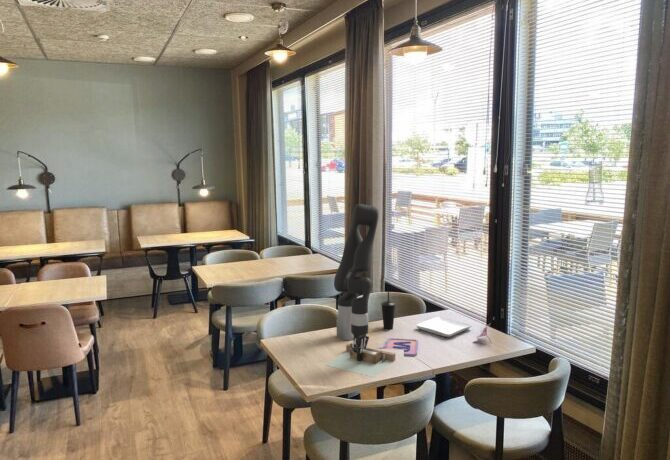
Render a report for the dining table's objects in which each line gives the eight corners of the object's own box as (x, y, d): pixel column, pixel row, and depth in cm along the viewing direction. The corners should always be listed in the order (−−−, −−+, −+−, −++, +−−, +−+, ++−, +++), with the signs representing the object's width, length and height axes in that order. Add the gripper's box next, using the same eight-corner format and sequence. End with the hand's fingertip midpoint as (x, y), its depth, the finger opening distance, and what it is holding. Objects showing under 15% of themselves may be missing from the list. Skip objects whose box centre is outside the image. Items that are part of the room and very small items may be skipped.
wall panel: (325, 367, 222) (324, 358, 221) (348, 351, 238) (348, 343, 238) (374, 379, 209) (374, 370, 208) (395, 362, 226) (395, 353, 225)
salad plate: (439, 321, 280) (439, 315, 280) (472, 330, 265) (473, 324, 264) (414, 330, 266) (414, 324, 266) (448, 341, 251) (449, 334, 250)
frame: (350, 358, 228) (350, 349, 228) (356, 354, 233) (356, 345, 232) (375, 364, 222) (375, 355, 221) (381, 359, 226) (381, 351, 226)
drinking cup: (391, 331, 264) (391, 294, 261) (378, 329, 268) (378, 292, 265) (398, 327, 270) (398, 290, 267) (385, 325, 274) (385, 288, 271)
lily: (488, 338, 256) (479, 321, 256) (505, 336, 246) (495, 318, 246) (473, 350, 250) (463, 333, 251) (489, 348, 240) (479, 330, 240)
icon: (377, 337, 254) (418, 339, 250) (377, 340, 254) (418, 342, 250) (372, 351, 235) (416, 354, 231) (372, 354, 236) (416, 357, 232)
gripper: (359, 328, 213) (359, 367, 216) (374, 319, 224) (374, 357, 227) (344, 325, 217) (344, 364, 220) (359, 316, 228) (359, 354, 231)
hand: (359, 360), depth 223 cm, fingers closed
